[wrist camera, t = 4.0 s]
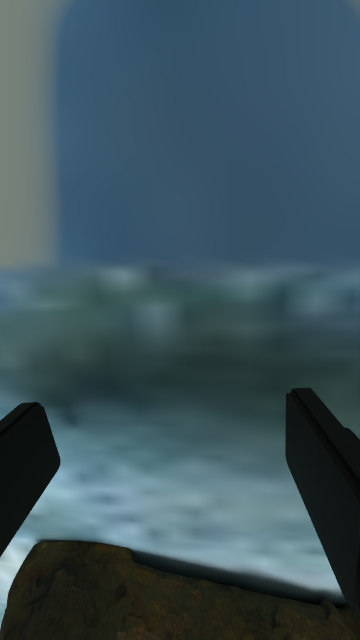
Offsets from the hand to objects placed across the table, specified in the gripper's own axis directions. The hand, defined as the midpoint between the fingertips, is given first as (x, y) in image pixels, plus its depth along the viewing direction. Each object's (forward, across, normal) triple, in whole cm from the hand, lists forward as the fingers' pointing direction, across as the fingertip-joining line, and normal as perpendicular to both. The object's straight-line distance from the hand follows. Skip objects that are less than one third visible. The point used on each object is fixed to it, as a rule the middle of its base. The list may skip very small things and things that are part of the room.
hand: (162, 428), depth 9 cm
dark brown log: (+2, 0, +13) cm, 13 cm away
